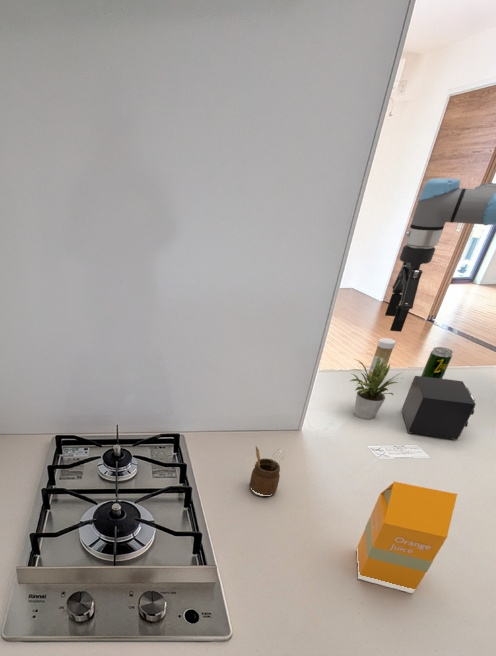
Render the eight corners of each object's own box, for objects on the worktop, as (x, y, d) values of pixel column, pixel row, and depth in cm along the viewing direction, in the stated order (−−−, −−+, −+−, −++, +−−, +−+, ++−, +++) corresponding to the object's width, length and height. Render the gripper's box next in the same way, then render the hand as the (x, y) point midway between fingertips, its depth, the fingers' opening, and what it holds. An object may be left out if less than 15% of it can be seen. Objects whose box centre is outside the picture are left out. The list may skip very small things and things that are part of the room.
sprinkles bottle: (384, 382, 139) (399, 342, 131) (370, 383, 139) (384, 343, 131) (376, 376, 142) (390, 337, 135) (363, 377, 142) (376, 337, 135)
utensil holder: (280, 497, 97) (291, 453, 90) (252, 499, 96) (261, 455, 89) (270, 480, 101) (280, 437, 94) (244, 482, 101) (252, 439, 94)
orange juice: (355, 549, 84) (390, 467, 72) (408, 562, 81) (453, 479, 69) (357, 580, 78) (395, 497, 66) (413, 595, 75) (464, 511, 64)
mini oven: (450, 417, 121) (468, 381, 115) (462, 442, 111) (482, 405, 105) (400, 410, 125) (415, 375, 118) (407, 434, 115) (423, 397, 109)
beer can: (413, 383, 138) (428, 347, 131) (428, 381, 138) (443, 346, 131) (426, 391, 133) (442, 354, 126) (441, 389, 134) (458, 352, 127)
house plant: (332, 397, 132) (347, 346, 123) (382, 402, 129) (402, 350, 119) (338, 422, 121) (355, 367, 111) (394, 428, 117) (416, 372, 108)
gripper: (398, 236, 128) (374, 308, 140) (411, 255, 109) (382, 336, 121) (427, 237, 126) (401, 311, 138) (446, 256, 107) (413, 339, 119)
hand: (392, 323), depth 130 cm, fingers open, 13 cm apart
